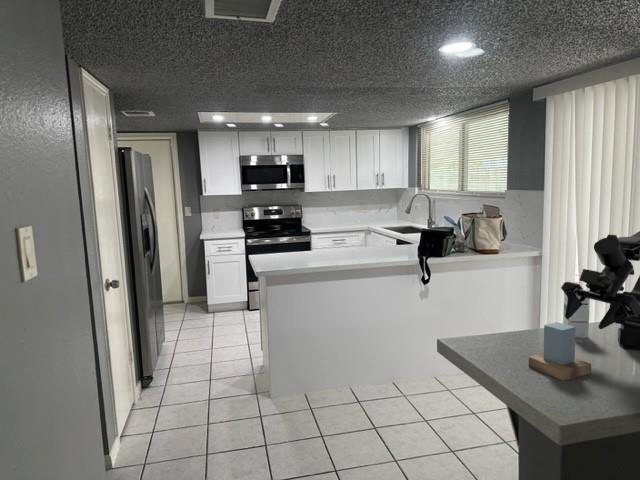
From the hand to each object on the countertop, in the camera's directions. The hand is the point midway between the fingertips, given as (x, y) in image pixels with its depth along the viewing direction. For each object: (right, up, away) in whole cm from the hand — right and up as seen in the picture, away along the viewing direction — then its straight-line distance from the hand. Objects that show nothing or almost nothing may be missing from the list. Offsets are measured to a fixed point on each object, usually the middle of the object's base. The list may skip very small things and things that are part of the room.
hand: (582, 323), depth 114 cm
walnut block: (-7, -12, -2) cm, 14 cm away
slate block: (-7, -9, -2) cm, 12 cm away
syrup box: (+12, -8, +24) cm, 28 cm away
